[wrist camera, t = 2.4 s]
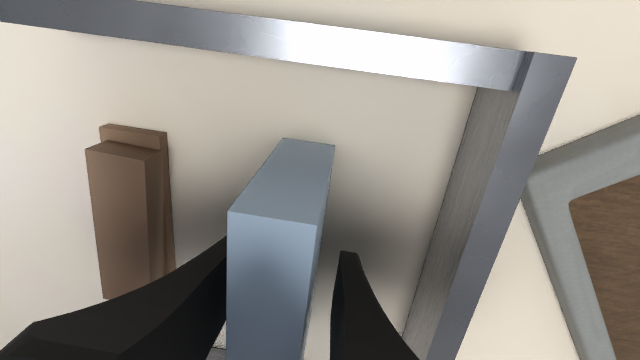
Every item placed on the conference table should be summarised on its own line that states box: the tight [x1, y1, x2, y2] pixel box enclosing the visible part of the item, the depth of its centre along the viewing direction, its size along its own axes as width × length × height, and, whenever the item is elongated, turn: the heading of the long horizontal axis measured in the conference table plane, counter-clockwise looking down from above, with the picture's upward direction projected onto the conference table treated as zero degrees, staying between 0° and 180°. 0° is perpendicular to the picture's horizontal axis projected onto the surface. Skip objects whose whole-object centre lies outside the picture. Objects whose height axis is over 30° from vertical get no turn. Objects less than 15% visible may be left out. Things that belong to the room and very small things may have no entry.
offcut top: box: [85, 140, 166, 300], centre depth 14 cm, size 2×7×1 cm, turn 170°
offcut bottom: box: [99, 124, 176, 275], centre depth 15 cm, size 2×8×1 cm, turn 173°
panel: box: [226, 138, 335, 360], centre depth 12 cm, size 2×9×6 cm, turn 173°
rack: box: [0, 0, 577, 360], centre depth 13 cm, size 16×17×3 cm
